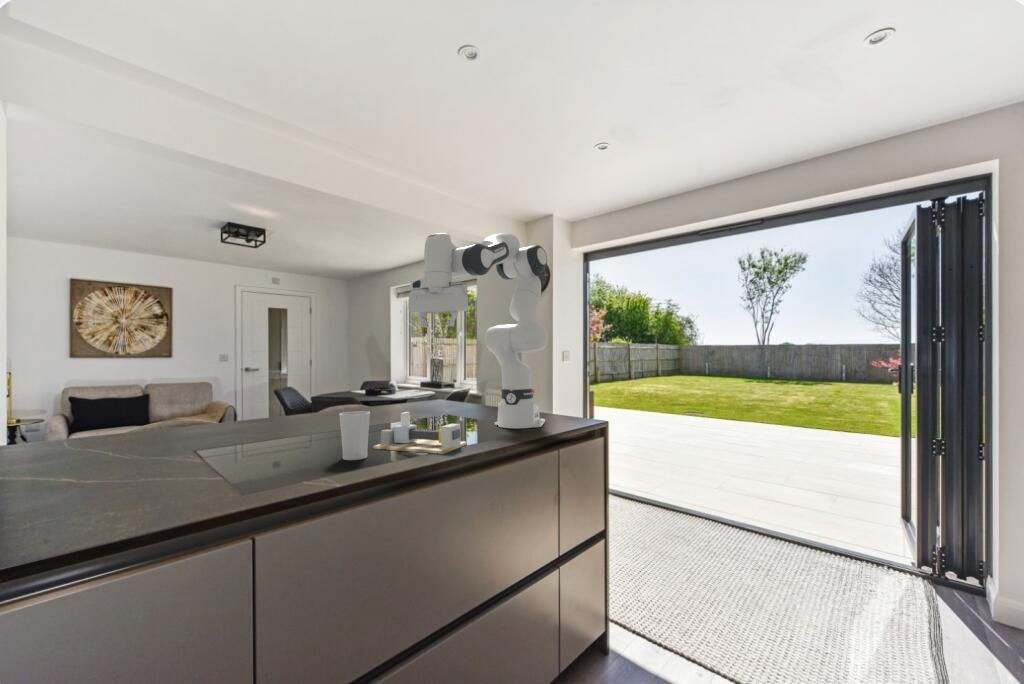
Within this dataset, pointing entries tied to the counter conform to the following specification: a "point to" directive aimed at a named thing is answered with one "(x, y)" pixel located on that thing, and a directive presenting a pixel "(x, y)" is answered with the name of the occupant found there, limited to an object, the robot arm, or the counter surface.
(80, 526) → the counter surface
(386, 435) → the light grey block
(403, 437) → the sleeve
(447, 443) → the connector
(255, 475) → the counter surface
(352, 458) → the cup
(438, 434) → the dark grey bar
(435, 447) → the board
